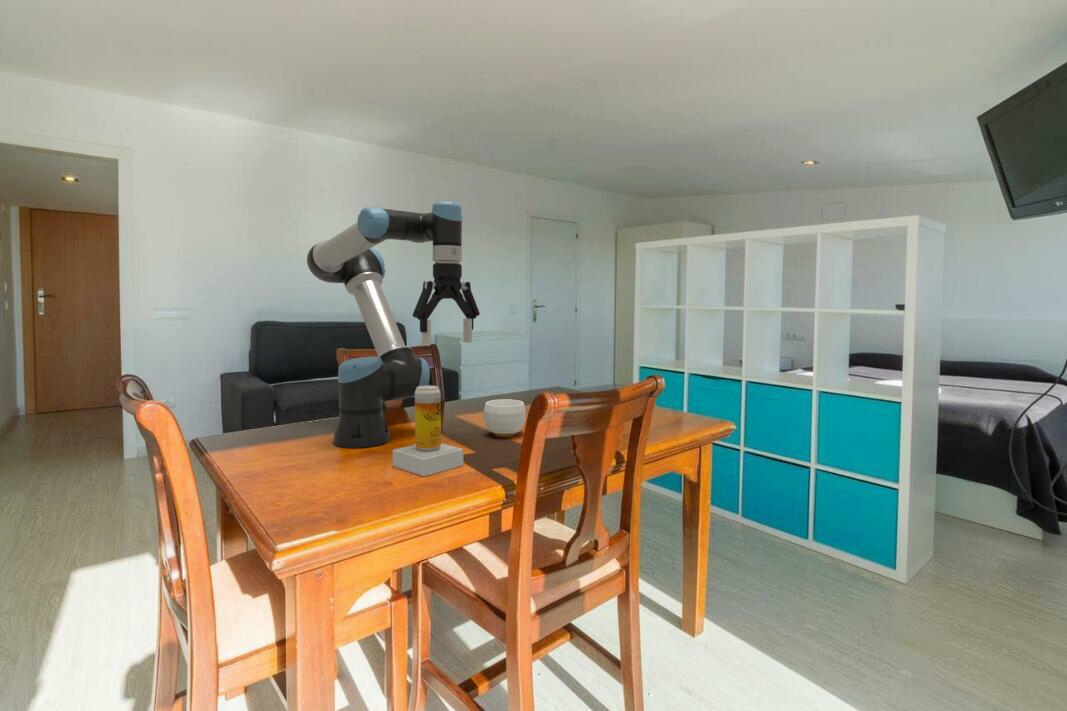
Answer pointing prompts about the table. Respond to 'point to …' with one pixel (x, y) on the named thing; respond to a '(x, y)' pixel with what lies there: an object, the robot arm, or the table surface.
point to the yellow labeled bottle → (427, 418)
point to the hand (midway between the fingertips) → (447, 343)
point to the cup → (504, 416)
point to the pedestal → (427, 459)
